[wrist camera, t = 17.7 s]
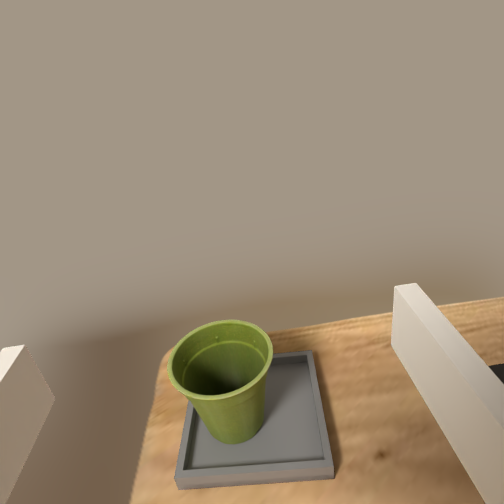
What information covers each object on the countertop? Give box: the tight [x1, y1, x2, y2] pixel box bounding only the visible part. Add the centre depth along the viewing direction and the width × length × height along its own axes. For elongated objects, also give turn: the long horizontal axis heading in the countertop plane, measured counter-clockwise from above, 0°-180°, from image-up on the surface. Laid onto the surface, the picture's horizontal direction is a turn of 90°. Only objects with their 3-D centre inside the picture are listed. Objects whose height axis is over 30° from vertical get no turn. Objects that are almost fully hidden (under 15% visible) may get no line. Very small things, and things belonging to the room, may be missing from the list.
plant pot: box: [167, 320, 273, 444], centre depth 44 cm, size 12×12×11 cm
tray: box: [174, 350, 334, 490], centre depth 47 cm, size 17×17×2 cm
